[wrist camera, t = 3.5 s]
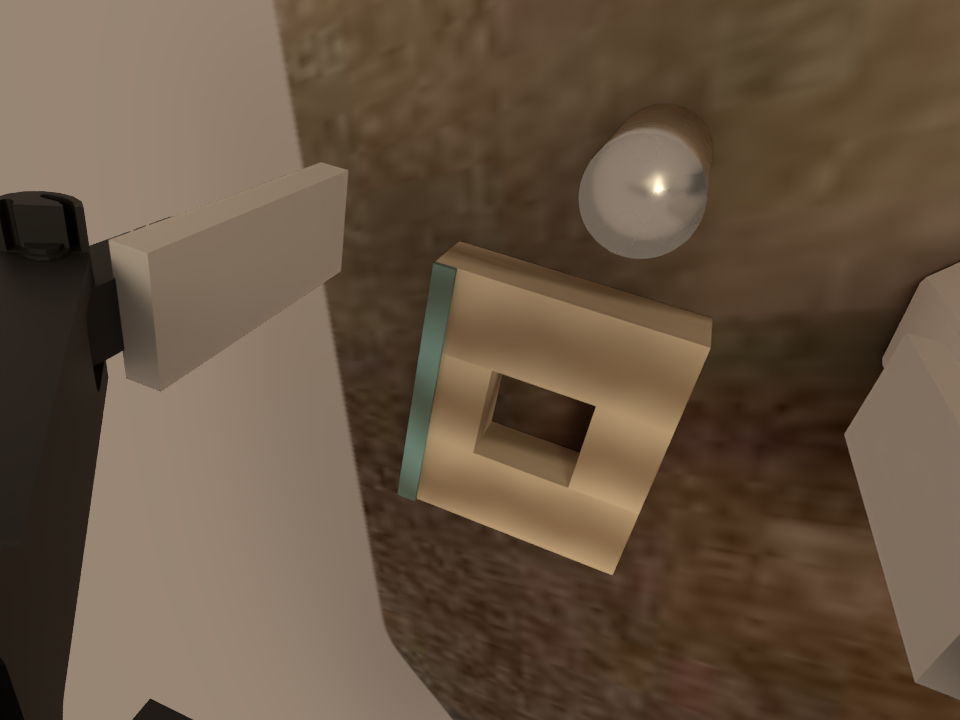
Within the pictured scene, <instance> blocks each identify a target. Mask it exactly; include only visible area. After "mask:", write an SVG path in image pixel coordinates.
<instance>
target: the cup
mask: <svg viewBox="0 0 960 720" xmlns="http://www.w3.org/2000/svg"><path fill="white" fill-rule="evenodd" d="M906 333H910V334H913V335H916V336H920V337H923V338H927V339H930V340H934V341H937V342H941V343H944V344H946V346H947V347H948V349H949V350H950V352H951V353H952V355H953V356H954V358H955V359H956V361H957V362H958V364H959V365H960V262H959V263H957V264H955V265H952V266H950V267H948V268H946V269H943V270H941V271H939V272H937V273H934V274H932V275H930V276H928V277H926V278H925V279H924V280H923V281H921V282H920V284H919V286H918V288H917V290H916V292H915V294H914V296H913V298H912V300H911V302H910V304H909V306H908V308H907V310H906V312H905V314H904V316H903V318H902V320H901V322H900V324H899V326H898V328H897V330H896V332H895V334H894V336H893V338H892V340H891V342H890V344H889V346H888V348H887V350H886V352H885V354H884V356H883V358H882V365H883V367H884V368H885V367H886V365H887V363H888V362H889V360H890V358H891V357H892V355H893V353H894V352H895V350H896V349H897V347H898V345H899V344H900V342H901V340H902V339H903V337H904V335H905V334H906Z"/></svg>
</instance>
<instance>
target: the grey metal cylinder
mask: <svg viewBox="0 0 960 720" xmlns="http://www.w3.org/2000/svg"><path fill="white" fill-rule="evenodd" d="M712 157H713V146H712V140H711V136H710V133H709V131H708V129H707V127H706V126H705V124H704V123H703V121H702V120H701V119H700V118H699V117H698V116H697V115H696V114H694V113H693V112H692V111H690V110H688V109H686V108H684V107H681V106H678V105H672V104H659V105H654V106H650V107H647V108H644V109H642V110H640V111H639V112H637V113H636V114H634V115H633V116H631V117H630V118H629V119H628V120H627V121H626V122H625V123H624V124H623V125H622V127H621V128H620V129H619V130H618V131H617V132H616V133H615V134H614V135H613V136H612V138H611V139H610V140H609V141H608V142H607V143H606V144H605V145H604V146H603V147H602V149H601V150H600V151H599V152H598V153H597V154H596V155H595V156H594V158H593V159H592V160H591V161H590V163H589V164H588V166H587V168H586V170H585V172H584V174H583V177H582V180H581V183H580V188H579V209H580V214H581V217H582V220H583V222H584V224H585V226H586V228H587V230H588V231H589V233H590V234H591V236H592V237H593V238H594V239H595V240H596V241H597V242H598V243H599V244H600V245H601V246H603V247H604V248H606V249H607V250H609V251H611V252H613V253H615V254H617V255H620V256H623V257H627V258H634V259H648V258H655V257H658V256H662V255H664V254H667V253H669V252H671V251H673V250H675V249H677V248H678V247H679V246H681V245H682V244H684V243H685V242H686V241H687V240H688V239H689V238H690V237H691V235H692V234H693V233H694V232H695V230H696V229H697V227H698V226H699V224H700V222H701V220H702V218H703V215H704V212H705V209H706V203H707V196H708V188H709V180H710V173H711V165H712Z"/></svg>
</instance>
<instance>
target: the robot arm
mask: <svg viewBox="0 0 960 720" xmlns="http://www.w3.org/2000/svg"><path fill="white" fill-rule="evenodd" d="M347 182H348V170H346V169H342V168H339V167H335V166H332V165H328V164H325V163H322V162H321V163H318V164H315V165H312V166H310V167H307V168H304V169H301V170H299V171H296V172H293V173H290V174H288V175H285V176H282V177H280V178H277V179H274V180H271V181H269V182H266V183H263V184H260V185H258V186H255V187H253V188H249V189H247V190H244V191H241V192H239V193H236V194H233V195H230V196H228V197H225V198H222V199H219V200H216V201H214V202H211V203H208V204H205V205H203V206H200V207H197V208H195V209H192V210H189V211H186V212H184V213H181V214H178V215H176V216H172V217H168V218H165V219H162V220H160V221H157V222H154V223H151V224H149V225H148V226H143V227H140V228H137V229H135V230H134V231H132V232H126V233H124V234H121V235H118V236H115V237H113V238H110V239H107V240H104V241H102V242H99V243H96V244H93V245H91V246H89V242H88V235H87V229H86V222H85V216H84V208H83V204H82V202H81V201H80V200H78V199H76V198H75V197H73V196H69V195H65V194H61V193H54V192H45V191H27V192H25V191H24V192H17V193H10V194H5V195H2V196H0V720H63V698H64V690H65V683H66V675H67V668H68V661H69V654H70V647H71V639H72V633H73V625H74V618H75V611H76V604H77V597H78V590H79V582H80V575H81V568H82V561H83V553H84V547H85V540H86V533H87V525H88V518H89V511H90V504H91V497H92V490H93V482H94V475H95V468H96V461H97V454H98V447H99V440H100V432H101V425H102V418H103V410H104V404H105V397H106V390H107V383H108V373H107V365H106V360H107V359H108V358H111V357H112V356H114V355H116V354H118V353H119V352H121V351H123V357H124V364H125V372H126V378H127V379H130V380H132V381H135V382H137V383H140V384H143V385H145V386H148V387H151V388H153V389H156V390H158V391H162V390H164V389H165V388H167V387H168V386H170V385H171V384H173V383H174V382H176V381H177V380H178V379H180V378H182V377H183V376H185V375H186V374H188V373H189V372H191V371H192V370H194V369H195V368H197V367H198V366H200V365H201V364H203V363H204V362H206V361H207V360H209V359H210V358H211V357H213V356H215V355H216V354H218V353H219V352H221V351H222V350H224V349H225V348H227V347H228V346H230V345H231V344H232V343H234V342H236V341H237V340H239V339H240V338H242V337H243V336H245V335H246V334H248V333H249V332H251V331H252V330H253V329H255V328H257V327H258V326H260V325H261V324H263V323H264V322H266V321H267V320H269V319H270V318H272V317H273V316H274V315H276V314H278V313H279V312H281V311H282V310H284V309H285V308H287V307H288V306H290V305H291V304H292V303H294V302H296V301H297V300H299V299H300V298H301V297H303V296H305V295H306V294H307V293H309V292H310V291H312V290H314V289H315V288H316V287H318V286H320V285H321V284H323V283H324V282H326V281H327V280H329V279H330V278H332V277H333V276H335V275H336V274H338V273H339V272H341V263H342V249H343V236H344V222H345V209H346V195H347ZM844 436H845V439H846V443H847V446H848V450H849V453H850V457H851V460H852V464H853V467H854V471H855V474H856V478H857V481H858V485H859V488H860V492H861V495H862V499H863V502H864V506H865V509H866V513H867V516H868V520H869V523H870V527H871V530H872V534H873V537H874V541H875V544H876V548H877V551H878V555H879V558H880V562H881V565H882V569H883V572H884V576H885V579H886V583H887V586H888V590H889V593H890V597H891V600H892V604H893V607H894V611H895V614H896V618H897V621H898V625H899V628H900V632H901V635H902V639H903V642H904V646H905V649H906V653H907V656H908V660H909V663H910V667H911V670H912V674H913V677H914V681H915V683H918V684H920V685H923V686H926V687H928V688H931V689H933V690H936V691H938V692H941V693H944V694H946V695H949V696H951V697H954V698H957V699H959V700H960V365H959V364H958V362H957V361H956V359H955V358H954V356H953V355H952V353H951V352H950V350H949V349H948V347H947V346H946V344H944V343H941V342H937V341H934V340H930V339H927V338H923V337H920V336H916V335H913V334H910V333H906V334H905V335H904V337H903V339H902V340H901V342H900V344H899V345H898V347H897V349H896V350H895V352H894V353H893V355H892V357H891V358H890V360H889V362H888V363H887V365H886V367H885V368H884V370H883V372H882V373H881V375H880V376H879V378H878V380H877V381H876V383H875V385H874V386H873V388H872V390H871V391H870V393H869V394H868V396H867V398H866V399H865V401H864V403H863V404H862V406H861V408H860V409H859V411H858V413H857V414H856V416H855V417H854V419H853V421H852V422H851V424H850V426H849V427H848V429H847V431H846V432H845V434H844ZM133 720H192V719H191V718H188V717H186V716H184V715H182V714H180V713H178V712H176V711H174V710H172V709H170V708H168V707H166V706H164V705H162V704H160V703H158V702H156V701H154V700H152V699H149V701H148V702H147V703H146V704H145V705H144V707H143V708H142V709H141V710H140V711H139V713H138V714H137V715H136V716H135V717H134V718H133Z"/></svg>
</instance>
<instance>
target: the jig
mask: <svg viewBox="0 0 960 720" xmlns="http://www.w3.org/2000/svg"><path fill="white" fill-rule="evenodd" d="M711 334H712V318H710V317H706V316H703V315H700V314H696V313H693V312H690V311H687V310H683V309H680V308H677V307H674V306H670V305H667V304H664V303H660V302H657V301H654V300H651V299H647V298H644V297H641V296H638V295H634V294H631V293H628V292H624V291H621V290H618V289H615V288H611V287H608V286H605V285H601V284H598V283H595V282H592V281H588V280H585V279H582V278H579V277H575V276H572V275H569V274H565V273H562V272H559V271H556V270H552V269H549V268H546V267H543V266H539V265H536V264H533V263H529V262H526V261H523V260H520V259H516V258H513V257H510V256H506V255H503V254H500V253H497V252H493V251H490V250H487V249H484V248H480V247H477V246H474V245H470V244H467V243H464V242H461V241H459V242H458V243H457V244H456V245H454V246H453V247H452V248H451V249H450V250H449V251H447V252H446V253H445V254H444V255H443V256H441V257H440V258H439V259H438V260H437V261H435V262H434V263H433V268H432V275H431V281H430V288H429V294H428V300H427V307H426V313H425V320H424V326H423V333H422V339H421V346H420V352H419V359H418V365H417V371H416V378H415V384H414V391H413V397H412V404H411V410H410V417H409V423H408V430H407V436H406V442H405V449H404V455H403V462H402V468H401V475H400V481H399V488H398V494H397V495H400V496H402V497H405V498H408V499H410V500H413V501H415V500H416V499H420V500H422V501H425V502H427V503H430V504H432V505H435V506H437V507H440V508H442V509H445V510H448V511H450V512H453V513H455V514H458V515H460V516H463V517H465V518H468V519H470V520H473V521H476V522H478V523H481V524H483V525H486V526H488V527H491V528H493V529H496V530H498V531H501V532H504V533H506V534H509V535H511V536H514V537H516V538H519V539H521V540H524V541H527V542H529V543H532V544H534V545H537V546H539V547H542V548H544V549H547V550H549V551H552V552H555V553H557V554H560V555H562V556H565V557H567V558H570V559H572V560H575V561H577V562H580V563H583V564H585V565H588V566H590V567H593V568H595V569H598V570H600V571H603V572H605V573H608V574H611V575H613V573H614V571H615V568H616V566H617V564H618V561H619V559H620V557H621V554H622V552H623V550H624V547H625V545H626V543H627V540H628V538H629V536H630V534H631V531H632V529H633V527H634V524H635V522H636V520H637V517H638V515H639V513H640V510H641V508H642V506H643V503H644V501H645V499H646V497H647V494H648V492H649V490H650V487H651V485H652V483H653V480H654V478H655V476H656V473H657V471H658V469H659V466H660V464H661V462H662V460H663V457H664V455H665V453H666V450H667V448H668V446H669V443H670V441H671V439H672V436H673V434H674V432H675V429H676V427H677V425H678V423H679V420H680V418H681V416H682V413H683V411H684V409H685V406H686V404H687V402H688V399H689V397H690V395H691V392H692V390H693V388H694V386H695V383H696V381H697V379H698V376H699V374H700V372H701V369H702V367H703V365H704V362H705V360H706V358H707V355H708V353H709V351H710V349H711ZM503 374H504V375H506V376H509V377H512V378H515V379H518V380H521V381H524V382H527V383H530V384H533V385H536V386H539V387H541V388H544V389H547V390H550V391H553V392H556V393H559V394H562V395H565V396H568V397H571V398H574V399H576V400H579V401H582V402H585V403H588V404H591V405H594V406H596V408H595V411H594V414H593V416H592V419H591V422H590V425H589V428H588V431H587V434H586V437H585V440H584V443H583V446H582V449H581V452H580V453H579V452H576V451H573V450H571V449H568V448H565V447H562V446H559V445H557V444H554V443H551V442H548V441H545V440H543V439H540V438H537V437H534V436H532V435H529V434H526V433H523V432H520V431H518V430H515V429H512V428H509V427H506V426H504V425H501V424H498V423H495V422H493V421H492V417H493V413H494V409H495V405H496V401H497V396H498V392H499V388H500V384H501V380H502V376H503Z"/></svg>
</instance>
